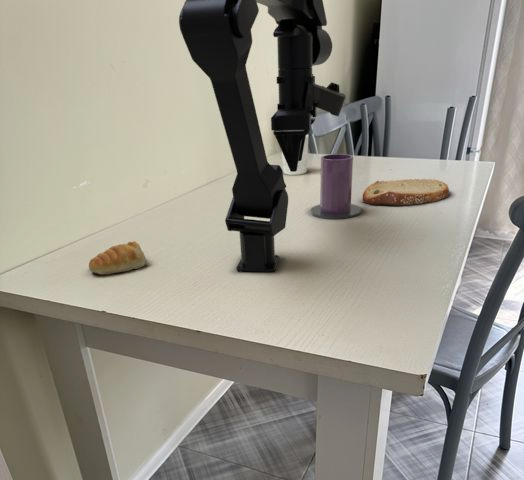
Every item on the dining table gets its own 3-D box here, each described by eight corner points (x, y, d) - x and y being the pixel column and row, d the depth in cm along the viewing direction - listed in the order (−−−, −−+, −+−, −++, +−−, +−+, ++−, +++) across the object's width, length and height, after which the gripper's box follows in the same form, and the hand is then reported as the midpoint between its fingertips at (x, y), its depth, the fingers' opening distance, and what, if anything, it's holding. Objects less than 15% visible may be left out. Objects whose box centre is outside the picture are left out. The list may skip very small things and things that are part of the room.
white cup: (276, 172, 150) (275, 135, 145) (300, 168, 152) (300, 132, 147) (289, 176, 144) (288, 138, 138) (313, 173, 146) (313, 135, 141)
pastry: (99, 280, 84) (94, 258, 82) (83, 270, 89) (78, 249, 87) (150, 265, 89) (146, 244, 87) (133, 256, 94) (129, 236, 92)
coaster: (361, 219, 107) (361, 216, 106) (308, 219, 108) (308, 216, 108) (360, 204, 116) (360, 202, 116) (312, 205, 118) (312, 202, 117)
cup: (325, 215, 109) (326, 161, 103) (316, 207, 114) (317, 155, 109) (355, 212, 110) (357, 158, 104) (344, 204, 115) (346, 152, 110)
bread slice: (451, 190, 123) (454, 174, 121) (438, 210, 109) (440, 193, 108) (378, 185, 130) (379, 170, 128) (357, 204, 117) (358, 187, 115)
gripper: (342, 69, 76) (339, 177, 84) (344, 64, 92) (341, 155, 100) (268, 72, 78) (272, 177, 86) (283, 66, 93) (285, 156, 101)
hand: (296, 165), depth 93 cm, fingers open, 9 cm apart
